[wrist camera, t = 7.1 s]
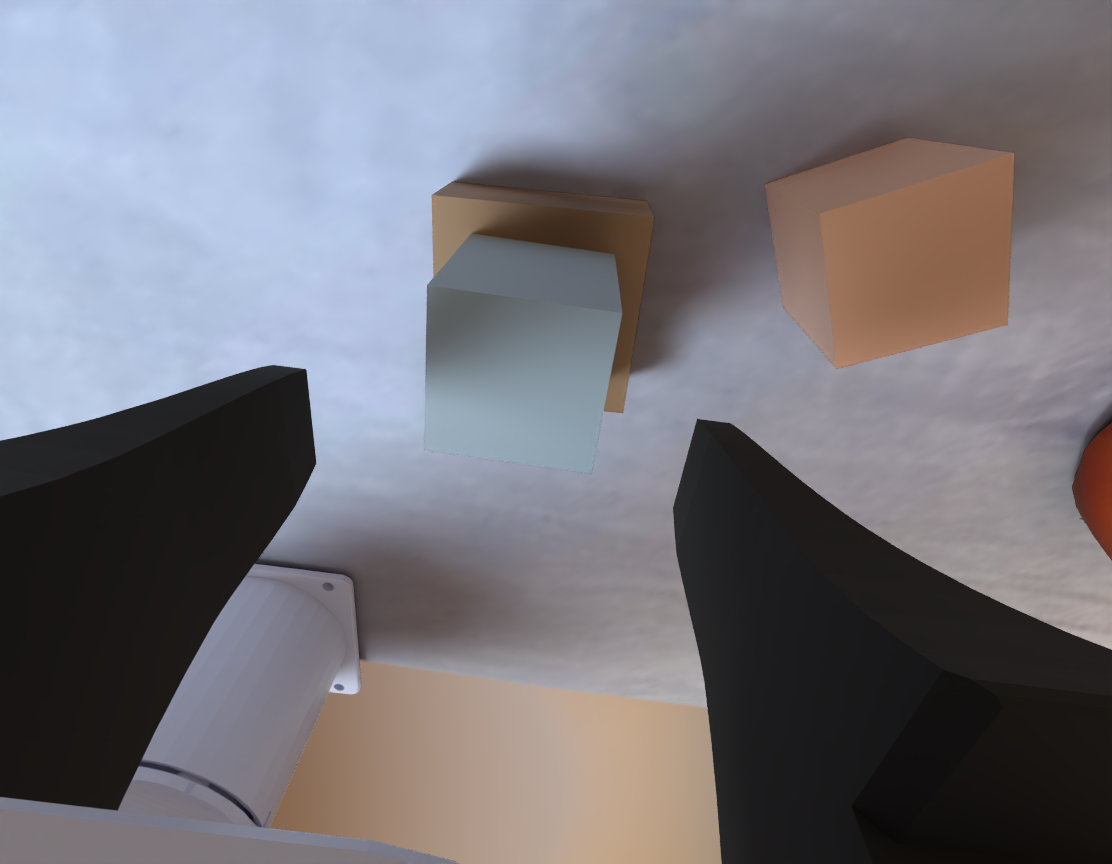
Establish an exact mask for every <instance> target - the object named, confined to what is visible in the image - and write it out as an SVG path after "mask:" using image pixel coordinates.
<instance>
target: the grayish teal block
mask: <svg viewBox="0 0 1112 864" xmlns="http://www.w3.org/2000/svg"><path fill="white" fill-rule="evenodd" d="M621 318H622V306H621V299H620V291H619V284H618V276H617V269H616V261H615V254H610V253H603V252H596V251H589V250H582V249H575V248H568V247H561V246H555V245H548V244H541V243H534V242H527V241H520V240H513V239H506V238H499V237H492V236H486V235H479V234H472V233H471V234H470V235H469V237H468V238H467V239H466V240H465V241H464V242H463V244H462V245H461V246H460V247H459V248H458V250H457V251H456V252H455V253H454V254H453V255H452V257H451V258H450V259H449V260H448V261H447V262H446V264H445V265H444V266H443V267H442V268H441V270H440V271H439V272H438V273H437V274H436V275H435V277H434V278H433V279H432V280H431V281H430V282H429V284H428V285H427V323H426V379H425V436H424V451H430V452H437V453H444V454H451V455H459V456H466V457H473V458H480V459H488V460H495V461H502V462H509V463H517V464H524V465H531V466H538V467H546V468H553V469H560V470H567V471H575V472H582V473H589V474H591V473H592V468H593V463H594V458H595V452H596V447H597V442H598V437H599V432H600V427H601V421H602V416H603V411H604V406H605V401H606V395H607V390H608V385H609V380H610V375H611V370H612V364H613V359H614V354H615V349H616V344H617V339H618V333H619V328H620V323H621Z"/></svg>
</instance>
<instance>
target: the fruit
mask: <svg viewBox="0 0 1112 864" xmlns="http://www.w3.org/2000/svg"><path fill="white" fill-rule="evenodd" d="M1072 490H1073V494H1074V498H1075V503H1076V507H1077V509H1078V510H1079V513H1080V515H1081V517H1082V518H1079V519H1083V520H1084V522H1085V523H1086V524H1087V526H1088V527H1089V529H1090V531H1091V532H1092V534H1093V536H1094V537H1095V538H1096V540H1097V541H1098V543H1099V544H1100V545H1101V547H1102V548H1103V549H1104V551H1105V552H1106V554H1107V555H1108V556H1109V557H1110V559H1111V560H1112V423H1110V424H1109V425H1108V426H1106V427H1105V428H1104V429H1103V430H1102V431H1100V432H1099V433H1098V434H1097V435H1096V437H1095V438H1094V439H1093V440H1092V441H1091V442H1090V444H1089V445H1088V446H1087V448H1086V449H1085V451H1084V453H1083V457H1082V461H1081V464H1080V466H1079V468H1078V470H1077V472H1076V475H1075V480H1074V483H1073V485H1072Z"/></svg>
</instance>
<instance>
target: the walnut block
mask: <svg viewBox="0 0 1112 864" xmlns="http://www.w3.org/2000/svg"><path fill="white" fill-rule="evenodd" d="M654 218H655V217H654V215H653V212H652V210H651V208H650V206H649V204H648V202H647V201H643V200H633V199H623V198H613V197H603V196H592V195H582V194H572V193H562V192H552V191H541V190H531V189H521V188H511V187H501V186H490V185H480V184H470V183H460V182H451V183H450V184H448V185H446V186H445V187H443V188H442V189H440V190H439V191H437V192H436V193H434V194H433V195H432V226H433V272H434V277H435V275H436V274H437V273H438V272H439V271H440V270H441V268H442V267H443V266H444V265H445V264H446V262H447V261H448V260H449V259H450V258H451V257H452V255H453V254H454V253H455V252H456V251H457V250H458V248H459V247H460V246H461V245H462V244H463V242H464V241H465V240H466V239H467V238H468V237H469V235H470V234H471V233H472V234H479V235H486V236H492V237H499V238H506V239H513V240H520V241H527V242H534V243H541V244H548V245H555V246H561V247H568V248H575V249H582V250H589V251H596V252H603V253H610V254H615V261H616V269H617V276H618V284H619V291H620V299H621V306H622V318H621V323H620V328H619V333H618V339H617V344H616V349H615V354H614V359H613V364H612V370H611V375H610V380H609V385H608V390H607V395H606V401H605V406H604V411H606V412H616V413H623V410H624V404H625V398H626V392H627V385H628V379H629V373H630V367H631V361H632V354H633V348H634V342H635V336H636V330H637V323H638V317H639V311H640V305H641V299H642V292H643V286H644V280H645V274H646V267H647V261H648V255H649V249H650V243H651V236H652V230H653V224H654Z"/></svg>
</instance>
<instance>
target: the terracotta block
mask: <svg viewBox="0 0 1112 864" xmlns="http://www.w3.org/2000/svg"><path fill="white" fill-rule="evenodd" d="M1014 154H1015V153H1010V152H1004V151H997V150H990V149H983V148H976V147H969V146H962V145H956V144H949V143H942V142H935V141H928V140H921V139H914V138H904V139H901V140H898V141H895V142H892V143H889V144H886V145H883V146H880V147H877V148H874V149H871V150H868V151H864V152H861V153H858V154H855V155H852V156H849V157H846V158H843V159H840V160H837V161H834V162H831V163H828V164H825V165H822V166H819V167H816V168H813V169H810V170H807V171H804V172H801V173H797V174H794V175H791V176H788V177H785V178H782V179H779V180H776V181H773V182H770V183H767V184H765V191H766V198H767V204H768V211H769V218H770V224H771V231H772V238H773V244H774V251H775V258H776V264H777V271H778V278H779V284H780V291H781V298H782V304H783V309H784V310H785V311H786V312H787V313H788V314H789V315H790V316H791V318H792V319H793V320H794V321H795V322H796V323H797V324H798V326H799V327H800V328H801V329H802V330H803V331H804V332H805V334H806V335H807V336H808V337H809V338H810V339H811V340H812V342H813V343H814V344H815V345H816V346H817V347H818V348H819V350H820V351H821V352H822V353H823V354H824V355H825V356H826V358H827V359H828V360H829V361H830V362H831V363H832V364H833V366H834V367H835V368H836V369H839V368H843V367H847V366H850V365H854V364H858V363H862V362H866V361H870V360H874V359H878V358H881V357H885V356H889V355H893V354H897V353H901V352H905V351H908V350H912V349H916V348H920V347H924V346H928V345H932V344H936V343H939V342H943V341H947V340H951V339H955V338H959V337H963V336H966V335H970V334H974V333H978V332H982V331H986V330H990V329H993V328H997V327H1001V326H1005V325H1008V306H1009V281H1010V255H1011V230H1012V205H1013V180H1014Z"/></svg>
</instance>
